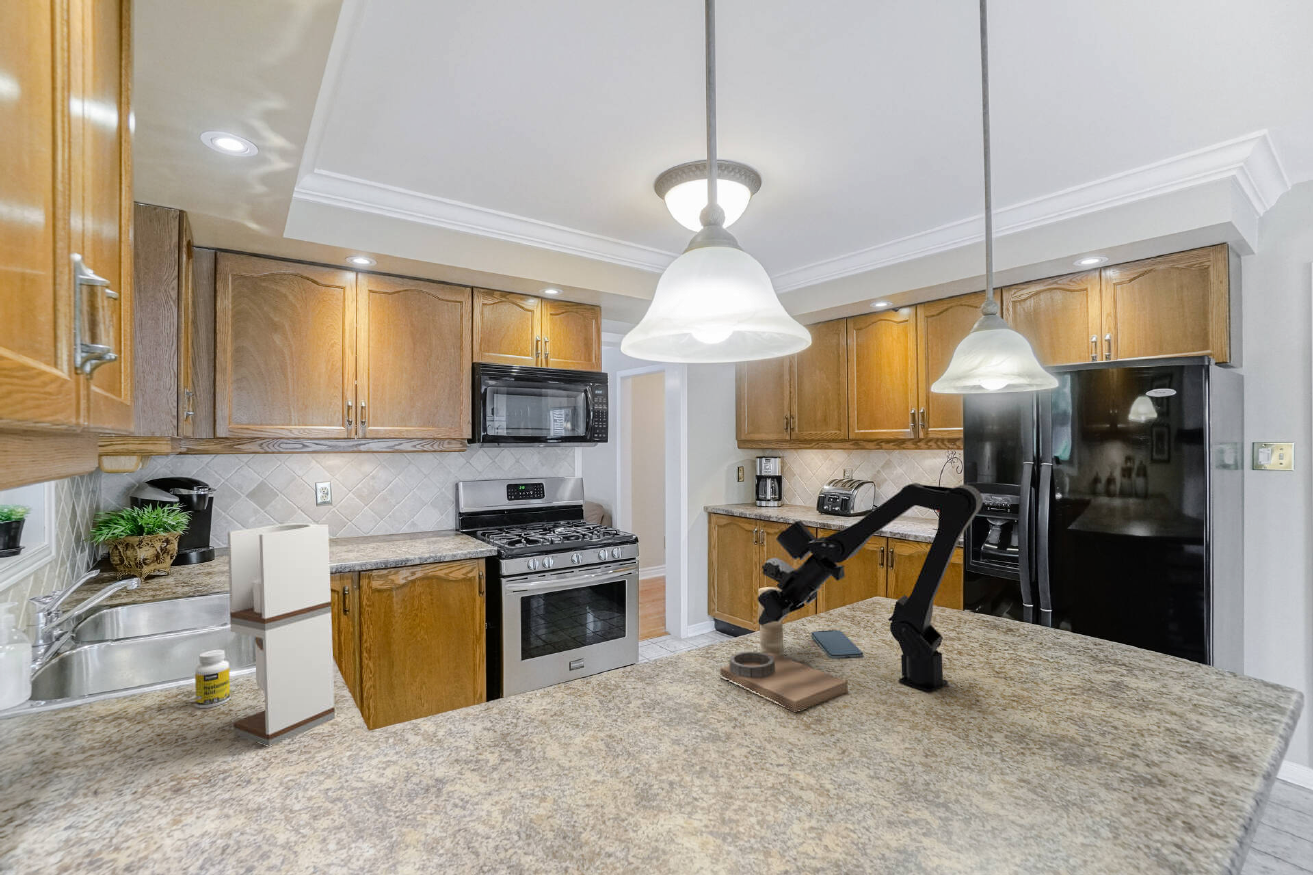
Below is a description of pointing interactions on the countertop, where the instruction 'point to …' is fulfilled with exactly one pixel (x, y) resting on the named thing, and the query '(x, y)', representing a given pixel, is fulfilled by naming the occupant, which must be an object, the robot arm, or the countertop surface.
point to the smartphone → (836, 644)
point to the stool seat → (783, 679)
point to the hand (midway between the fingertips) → (765, 620)
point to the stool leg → (771, 632)
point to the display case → (284, 625)
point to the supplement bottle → (212, 679)
